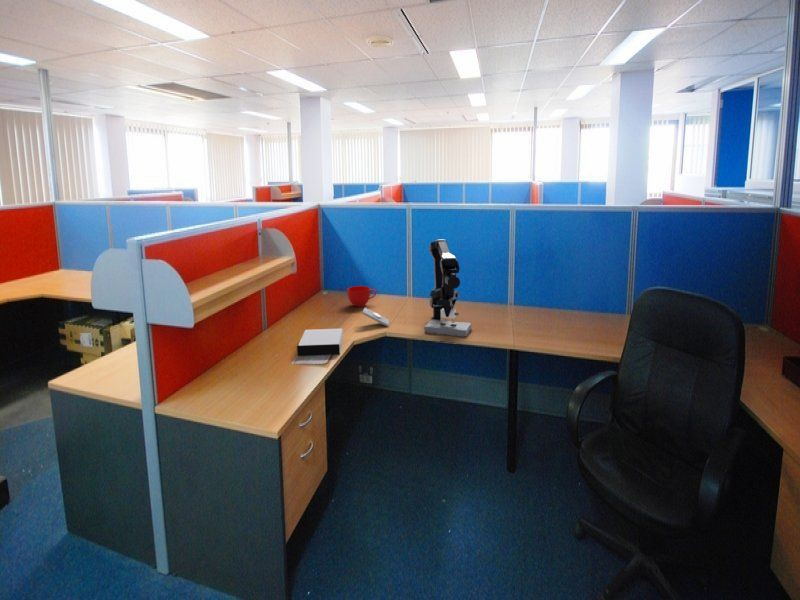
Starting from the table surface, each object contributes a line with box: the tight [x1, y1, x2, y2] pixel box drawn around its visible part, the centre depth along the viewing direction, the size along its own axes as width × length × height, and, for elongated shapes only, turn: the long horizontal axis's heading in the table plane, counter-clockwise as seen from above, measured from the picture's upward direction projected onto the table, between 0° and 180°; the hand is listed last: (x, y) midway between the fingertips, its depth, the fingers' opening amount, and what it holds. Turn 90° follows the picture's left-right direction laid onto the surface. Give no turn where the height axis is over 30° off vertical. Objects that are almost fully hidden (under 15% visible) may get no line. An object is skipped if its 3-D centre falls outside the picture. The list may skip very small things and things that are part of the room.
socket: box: [424, 319, 472, 337], centre depth 229 cm, size 12×20×3 cm, turn 70°
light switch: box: [361, 307, 390, 327], centre depth 241 cm, size 8×6×14 cm
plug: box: [441, 308, 460, 323], centre depth 228 cm, size 4×8×6 cm, turn 70°
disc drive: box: [296, 328, 344, 357], centre depth 212 cm, size 18×22×5 cm
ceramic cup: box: [346, 285, 378, 308], centre depth 276 cm, size 13×17×10 cm
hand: (448, 315), depth 228 cm, fingers closed on plug, 4 cm apart
